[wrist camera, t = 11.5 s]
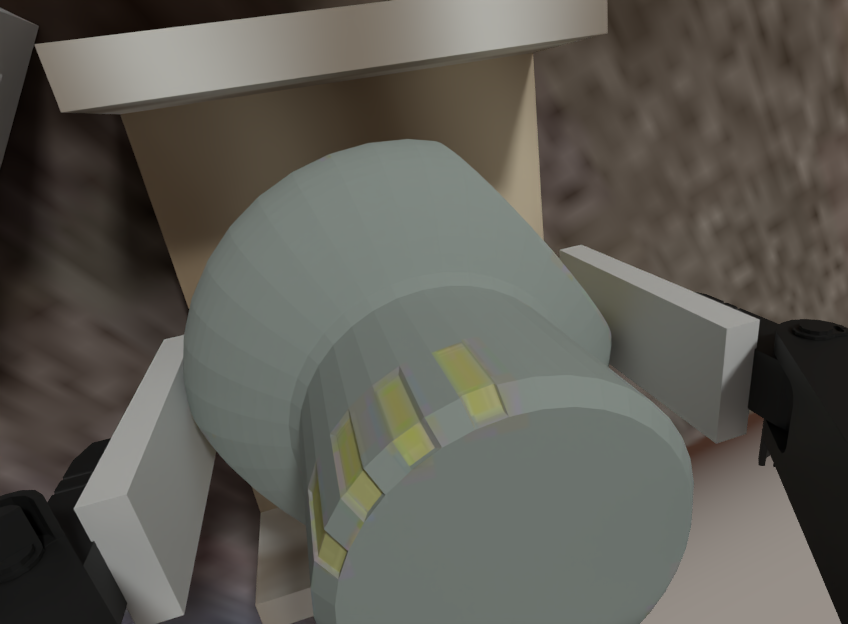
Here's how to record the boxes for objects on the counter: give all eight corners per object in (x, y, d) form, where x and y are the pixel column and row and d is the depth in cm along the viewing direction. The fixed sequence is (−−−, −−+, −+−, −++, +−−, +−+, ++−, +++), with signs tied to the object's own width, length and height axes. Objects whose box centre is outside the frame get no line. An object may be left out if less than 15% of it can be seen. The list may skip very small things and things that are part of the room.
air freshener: (148, 301, 14) (-89, 627, 5) (358, 82, 14) (512, 8, 4) (412, 489, 19) (534, 837, 10) (576, 332, 18) (870, 544, 9)
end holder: (271, 523, 20) (268, 638, 16) (110, 56, 14) (27, 26, 9) (544, 442, 23) (610, 522, 18) (515, 3, 16) (607, -42, 12)
